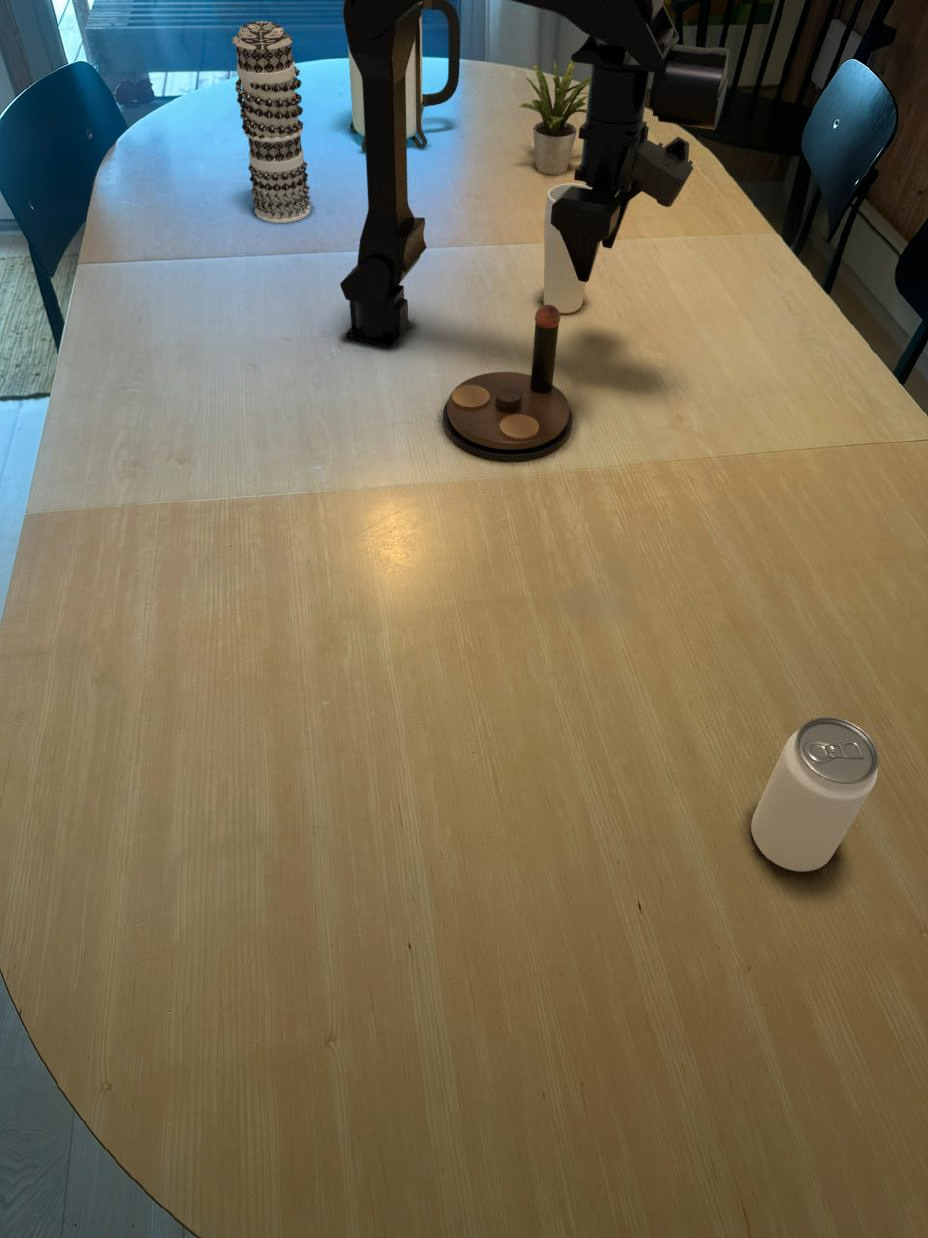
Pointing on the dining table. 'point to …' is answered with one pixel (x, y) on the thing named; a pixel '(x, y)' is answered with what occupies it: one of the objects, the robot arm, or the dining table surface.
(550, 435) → the turntable with crank handle
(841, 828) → the can
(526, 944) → the dining table surface
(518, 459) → the base
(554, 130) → the house plant
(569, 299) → the drinking glass
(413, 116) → the coffee press
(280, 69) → the decorative candle
